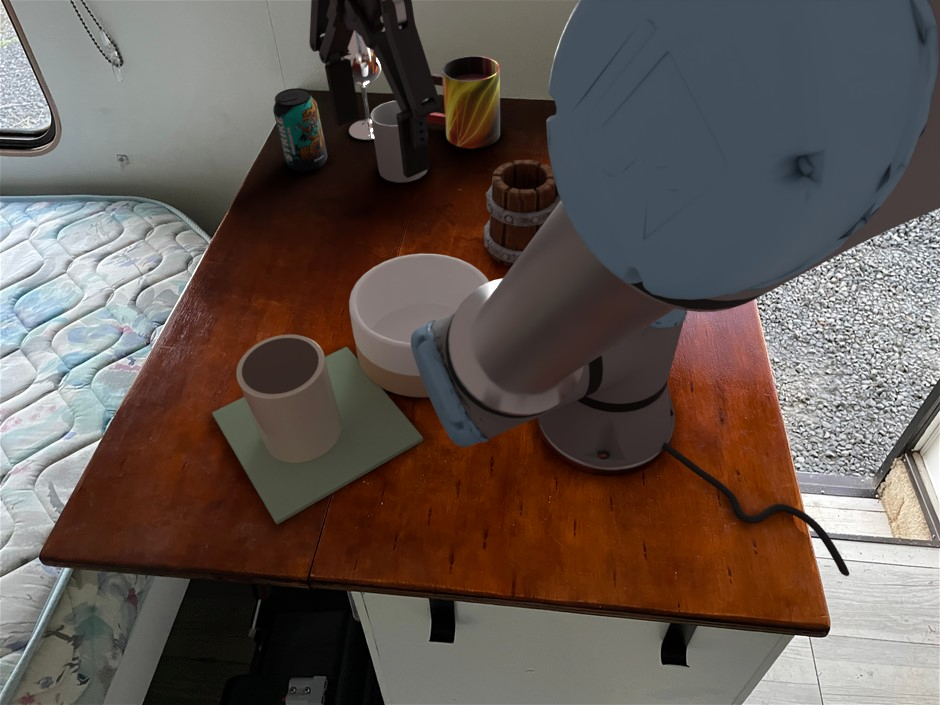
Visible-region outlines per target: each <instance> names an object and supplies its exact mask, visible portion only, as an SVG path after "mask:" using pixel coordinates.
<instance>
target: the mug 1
mask: <svg viewBox="0 0 940 705" xmlns="http://www.w3.org/2000/svg"><path fill="white" fill-rule="evenodd" d="M500 69H501V66H500V64H499V62H497V61H496V60H495V59H492V58H490V57H486V56H480V55H466V56H459V57H456V58H453V59H451V60H449V61H447V62H446V63H444V64H443V66H442V68H441V73H436V72H435V73H434V72H431V75H432V78H433V81H434V85H435V86H439V87H442V89H443V90H442V92H443V104H444V105H443V106H444V113H440V112H434V113H432V114H429V115H427V123H433V124H439V125H445V136H446V140H447V141H448V142H449V143H450V144H451V145H454V146H456V147H459V148H463V149H480V148H484V147H488V146H491V145H492V144H494V143H496V142H497V141H498V140H499V139H500V136H501V72H500V71H501V70H500Z"/></svg>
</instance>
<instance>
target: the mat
mask: <svg viewBox="0 0 940 705" xmlns="http://www.w3.org/2000/svg"><path fill="white" fill-rule="evenodd" d="M325 360H326V364H327V368H328V371H329V375H330V379H331V382H332V386H333V390H334V394H335V397H336V401H337V405H338V409H339V412H340V416H341V420H342V431H341V434H340V437H339V439H338V441H337V442H336V444H335V445H334V446H333V447H332V448H331V449H330V450H329V451H328V452H326V453H325V454H324V455H322V456H320V457H318V458H316V459H314V460H311V461H307V462H302V463H288V462H283V461H280V460H278V459H276V458H274V457H273V456H271V455H270V454H269V453H268V452H267V450H266V449H265V447H264V444H263V442H262V440H261V437H260V435H259V432H258V430H257V427H256V425H255V423H254V420H253V418H252V415H251V413H250V410H249V408H248V405H247V403H246V401H245V398H244V396H242V397H241V398H239V399H237V400H235V401H233V402H231V403H228V404H226V405H225V406H223V407H220V408H218V409H217V410H214V411H212V412H211V415H212V417H213V418H214V420H215V422H216V423H217V426H218V427H219V429H220V430H221V432H222V434H223V435H224V437H225V439H226V441H227V442H228V444H229V446H230V448H231V449H232V451H233V452H234V455H235V456H236V458H237V460H238V461H239V463H240V465H241V467H242V468H243V470H244V472H245V474H246V475H247V477H248V479H249V480H250V482H251V483H252V486H253V487H254V489H255V491H256V492H257V494H258V495H259V497H260V499H261V500H262V502H263V504H264V506H265V508H266V509H267V511H268V513H269V514H270V516H271V518H272V520H273V521H274V523H275V525H277V526H278V525H279V524H281V523H282V522H285V521H286V520H288V519H289V518H292V517H293V516H295V515H297V514H298V513H301V512H302V511H303V510H305V509H307V508H308V507H311V506H312V505H314V504H316V503H317V502H319V501H321V500H323V499H325V498H326V497H329V495H332V494H334V493H335V492H337V491H338V490H340V489H342V488H344V487H346V486H348V485H349V484H351V483H352V482H354V481H356V480H358V479H359V478H362V477H363V476H364V475H367V474H368V473H370V472H371V471H373V470H376V468H378V467H380V466H382V465H384V464H385V463H387V462H388V461H391V460H392V459H394V458H396V457H398V456H399V455H401V454H403V453H404V452H406V451H408V450H410V449H412V448H413V447H415V446H417V445H418V444H421V443H422V442H423V441H424V437H423V435H421V433H420V432H419V431H418V429H417V428H416V427H415V426H414V425H413V423H412V422H411V421H410V420H409V419H408V417H407V416H406V415H405V414H404V413H403V412H402V411H401V409H400V408H399V407H398V406H397V404H396V403H395V402H394V401H393V400H392V398H391V397H390V396H389V395H388V394H387V392H386V390H385V389H384V388H382V387H380V386H378V385H377V384H375V383H374V382H373V381H372V380H371V379H370V378H368V377H367V375H366V374H365V372H364V371H363V369H362V368H361V366H360V363H359V360H358V357H356V355H355V354H354V353H353V352H352V351H351V349H350V348H349V347H348V346H345V347H343V348H340V349H339V350H336V351H335V352H332V353H330V354H328V355H326V356H325Z"/></svg>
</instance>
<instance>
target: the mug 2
mask: <svg viewBox="0 0 940 705" xmlns="http://www.w3.org/2000/svg"><path fill="white" fill-rule="evenodd" d="M491 178H492V179H491V186H490V187H489V189H488V191H486V192H485V197H486V209H487V211H488V212H489V220H488V221H487V223H486V225H483V244H484V247H485V248H486V249H487V252H488V254H489V255H490V257H491V258H492V259H493V260H495V261H496V262H497V263H499V264H503V266H506V267H509V268H511V267H512V266H513V264H514V263H515V262H516V260H517V259H518V258H519V256H520V255H521V253H522V252H523V251H524V249H525V248H526V247H527V245H528V244H529V243H530V241H531V240H532V239H533V237H534V236H535V235H536V233H537V232H538V230H539V229H540V228H541V226H542V225H543V224H544V222H545V221H546V220H547V218H548V217H549V216H550V214H551V213H552V211H553V210H554V209H555V207H556V206H557V205H558V203H559V202H560V201H561V199H560V196H559V193H558V190H557V187H556V183H555V180H554V176H553V171H552V166H551V165H549V164H546V163H543V164H542V163H541V161H539V160H538V161H537V160H534V159H516V160H513V162H511V161H508V162H506V163H503V164H501V165H499V167H497V168H496V169H495V170H494V172H493V174H492V177H491Z"/></svg>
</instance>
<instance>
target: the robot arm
mask: <svg viewBox="0 0 940 705" xmlns="http://www.w3.org/2000/svg"><path fill="white" fill-rule="evenodd" d="M310 1H311V2H310V21H309V22H310V23H309V41H308V42H309V48H310V49H311V51H313V53H315V52H318V57H319V60H320V62H321V63H322V64H324V71H325V75H326V80H327V85H328V90H329V91H328V92H329V97H330V103H331V108H332V112H333V118H334V123H335V125H336V126H337V127H341V126H343V125H347V124H349V123H351V122H354V121H358V120H361V118H360V117H361V116H360V110H359V104H358V97H357V92H356V85H354V78H353V72H352V66H351V61H350V60H349V59H344V60H342V59H341V58H342V57H345V56H348V55H351V53H348V52H350V51H349V49H348V46H349V43H350V41H351V38H352V35H353V33H354V30H355V31H356V32H357V33H358V34H359V35H360V36H361V37H362V39H363V41H364V43H365V45H366V47H367V48H369V49H372V50H373V51H374V53H375V55H376V58H377V60H378V62H379V64H380V66H381V68H382V69H381V71H382V73H383V75H384V77H385V79H386V81H387V83H388V86H389V88H390V90H391V92H392V94H393V97H394V98H395V101H397V103H398V105H399V107H400V110H401V112H400V113H398V114H396V115H397V116H396V118H397V123H398V132H399V140H400V149H401V157H402V165H403V174H404V176H406V177H407V178H409V177H412V176H414V175H416V174H419V173H421V172H423V171H425V170H427V171H428V170H430V169H431V165H430V154H429V153H430V152H429V131H428V130H429V129H428V122H427V115H429V114H432V113H434V112H435V113H438V112H439V111H441V109H442V104H441V100H440V98H439V94H438V91H437V87H436V85H434V81H433V78H432V75H431V73H432V72H431V69H430V66H429V63H428V60H427V56H426V53H425V50H424V47H423V44H422V40H421V38H420V34H419V31H418V28H417V25H416V20H415V15H414V7H413V0H310ZM548 83H549V84H548V90H547V92H548V95H549V96H550V97H551V98H552V99H553V101H554V103H555V108H556V112H555V114H554V115H550V116H549V117H548V118H547V119H546V122H545V123H546V137H547V150H548V156H549V162H550V167H551V168H552V171H553V176H554V180H555V183H556V187H557V190H558V193H559V196H560V199H561V201H560V202H559V203H558V205H557V206H556V207H555V209H554V210H553V211H552V213H551V214H550V216H549V217H548V218H547V220H546V221H545V222H544V224H543V225H542V226H541V228H540V229H539V230H538V232H537V233H536V235H535V236H534V237H533V239H532V240H531V241H530V243H529V244H528V245H527V247H526V248H525V249H524V251H523V252H522V253H521V255H520V256H519V258H518V259H517V260H516V262H515V263H514V264H513V266H512V267H509V269H508V271H507V272H506V274H505V275H504V276H503V278H499V279H494V280H491V281H489V283H487V284H485V285H483V286H481V287H479V288H478V289H476V290H475V291H473V292H472V293H471V294H470V295H469V296H468V297H467V298H466V299H464V301H463V302H462V303H461V304H460V306H459V307H458V309H457V310H456V312H455V313H454V314H452V315H450V316H448V317H445V318H443V319H440V320H437V321H436V320H431V321H430V322H428V323H427V324H426V325H424V326H422V327H420V328H418V329H416V330H415V331H414V332H413V334H412V336H411V347H412V352H413V355H414V358H415V361H416V364H417V367H418V370H419V373H420V376H421V378H422V381H423V383H424V386H425V388H426V391H427V393H428V396H429V397H428V398H429V400H430V402H431V405H432V407H433V409H434V412H435V413H436V415H437V418H438V420H439V422H440V423H441V426H442V427H443V429H444V431H445V432H446V435H447V437H448V438H449V439H450V441H451V442H452V443H454V444H455V445H456V446H458V447H460V448H470V447H472V446H474V445H477V444H480V443H483V444H485V443H488V442H489V441H491V439H492V438H494V437H496V436H498V435H499V436H500V435H501V434H503V433H505V432H508V431H510V430H512V429H514V428H517V427H519V426H521V425H525V424H526V423H528V422H531V421H533V420H535V419H536V426H537V430H538V433H539V436H540V438H541V439H542V441H543V443H544V444H545V446H546V447H547V449H548V450H549V451H550V452H551V453H552V455H554V456H555V457H556V458H557V459H559V460H560V461H561V462H563V463H565V464H566V465H568V466H570V467H572V468H574V469H575V470H578V471H581V472H584V473H587V474H590V475H595V476H601V477H602V476H604V477H620V476H621V477H622V476H627V475H632V474H636V473H638V472H641V471H643V470H645V469H647V468H650V466H652V465H654V464H655V463H657V461H658V460H659V459H661V458H662V457H663V455H664V454H665V453H668V454H669V455H670V456H672V457H673V458H674V459H676V460H677V461H678V462H680V463H681V464H682V465H684V467H686V468H687V469H689V470H690V471H691V472H692V473H694V474H696V475H697V476H698V477H700V478H701V479H703V480H704V481H706V482H707V483H708V484H710V485H711V486H713V487H714V488H716V489H717V491H719V492H720V493H722V495H724V497H726V499H727V500H728V501H729V503H730V506H731V508H732V511H733V513H734V514H735V516H736V517H737V518H738V519H739V520H740V521H742V522H744V523H747V524H754V525H755V524H759V523H761V522H762V523H763V522H764V521H765V520H767V519H768V518H769V517H771V516H773V515H774V514H777V513H779V512H782V513H783V512H784V513H787V514H789V515H792V516H794V517H796V518H798V519H800V520H801V521H803V523H805V524H807V525H808V526H809V527H810V529H812V530H813V531H814V532H815V534H816V535H817V537H819V539H820V540H821V542H822V543H823V544H824V547H825V548H826V549H827V551H828V553H829V554H830V556H831V558H832V560H833V562H834V563H835V565H836V567H837V569H838V571H839V573H840V574H841V575H843V576H845V577H850V571H849V568H848V567H847V564H846V562H845V561H844V559H843V557H842V556H841V554H840V552H839V550H838V549H837V547H836V545H835V544H834V542H833V540H832V539H831V537H830V536H829V535H828V533H827V532H826V530H824V528H823V527H822V526H821V525H820V523H818V522H817V521H816V520H815V519H814V518H813V517H811V516H810V515H809V514H807V513H806V512H805V511H803V510H801V509H799V508H797V507H794V506H792V505H788V504H786V503H775V504H773V505H770V506H768V507H767V508H765V509H764V510H762V511H761V512H759V513H757V514H755V515H750V514H746V513H745V512H744V511H743V509H742V508H741V505H740V502H739V500H738V498H737V497H736V495H735V494H734V493H733V491H732V490H730V489H729V488H728V487H727V486H726V485H725V484H724V483H722V482H721V481H720V480H719V479H717V478H716V477H714V476H713V475H711V474H710V473H709V472H707V471H705V470H704V469H703V468H702V467H700V466H699V465H697V464H695V463H694V462H693V460H690V459H689V458H688V457H686V456H685V455H684V454H682V453H681V452H680V451H678V450H677V449H676V448H675V447H673V446H672V445H670V444H671V441H672V438H673V434H674V430H675V424H676V416H675V408H674V405H673V400H672V398H671V392H670V387H669V378H670V376H671V371H672V367H673V363H674V360H675V356H676V353H677V348H678V344H679V340H680V337H681V333H682V330H683V325H684V322H685V320H686V318H687V314H688V312H696V313H708V312H709V313H712V312H713V313H714V312H720V311H721V312H722V311H728V310H732V309H734V308H737V307H739V306H743V305H746V304H748V303H750V302H752V301H755V300H756V299H758V298H761V297H762V296H764V295H766V294H768V293H769V292H772V291H774V290H776V289H778V288H779V287H781V286H784V285H785V284H786V283H788V282H791V281H792V280H794V279H796V278H798V277H800V276H801V275H803V274H806V273H807V272H809V271H811V270H813V269H815V268H817V267H819V266H821V265H823V264H824V263H826V262H828V261H830V260H832V259H834V258H835V257H838V256H839V255H841V254H843V253H845V252H846V251H847V252H848V251H849V250H851V249H853V248H855V247H856V246H859V245H861V244H863V243H865V242H867V241H869V240H871V239H874V238H876V237H877V236H879V235H882V234H883V233H886V232H888V231H890V230H892V229H895V228H896V227H898V226H901V225H903V224H905V223H909V222H911V221H913V220H916V219H918V218H920V217H922V216H925V215H928V214H929V213H932V212H934V211H937V210H939V209H940V0H578V2H576V4H575V6H574V8H573V10H572V12H571V14H570V15H569V18H568V20H567V22H566V24H565V26H564V29H563V31H562V33H561V36H560V38H559V42H558V44H557V47H556V50H555V54H554V57H553V61H552V65H551V70H550V76H549V82H548Z"/></svg>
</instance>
